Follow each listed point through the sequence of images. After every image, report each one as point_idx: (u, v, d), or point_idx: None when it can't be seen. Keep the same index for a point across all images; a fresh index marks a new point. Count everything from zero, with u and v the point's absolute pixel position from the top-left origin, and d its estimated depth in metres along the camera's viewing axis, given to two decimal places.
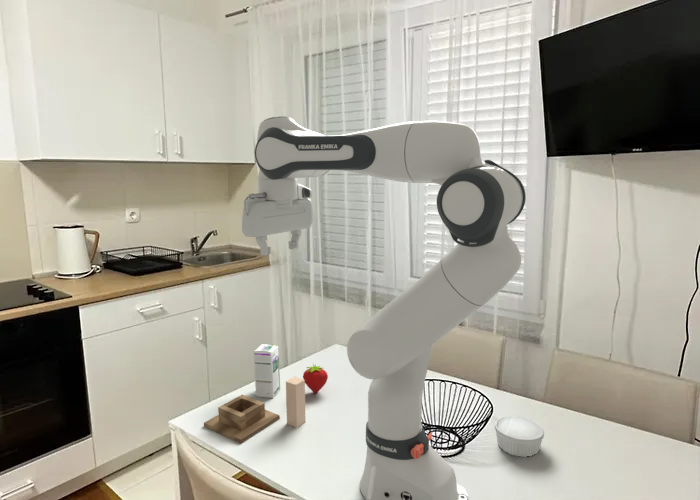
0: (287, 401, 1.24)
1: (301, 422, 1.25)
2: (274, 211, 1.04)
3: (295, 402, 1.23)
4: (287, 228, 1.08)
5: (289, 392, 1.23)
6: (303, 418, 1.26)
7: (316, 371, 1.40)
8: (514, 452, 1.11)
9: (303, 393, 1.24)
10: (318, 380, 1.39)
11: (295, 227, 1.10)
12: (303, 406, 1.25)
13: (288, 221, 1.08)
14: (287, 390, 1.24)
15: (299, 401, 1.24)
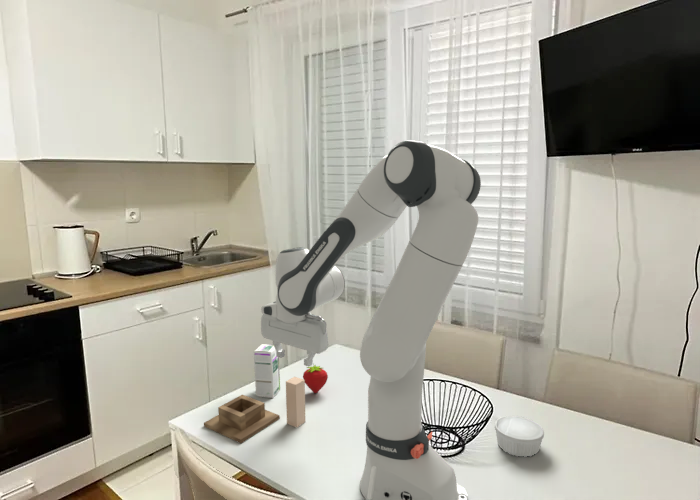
0: (287, 401, 1.24)
1: (301, 422, 1.25)
2: None
3: (295, 402, 1.23)
4: None
5: (289, 392, 1.23)
6: (303, 418, 1.26)
7: (316, 371, 1.40)
8: (514, 452, 1.11)
9: (303, 393, 1.24)
10: (318, 380, 1.39)
11: None
12: (303, 406, 1.25)
13: None
14: (287, 390, 1.24)
15: (299, 401, 1.24)
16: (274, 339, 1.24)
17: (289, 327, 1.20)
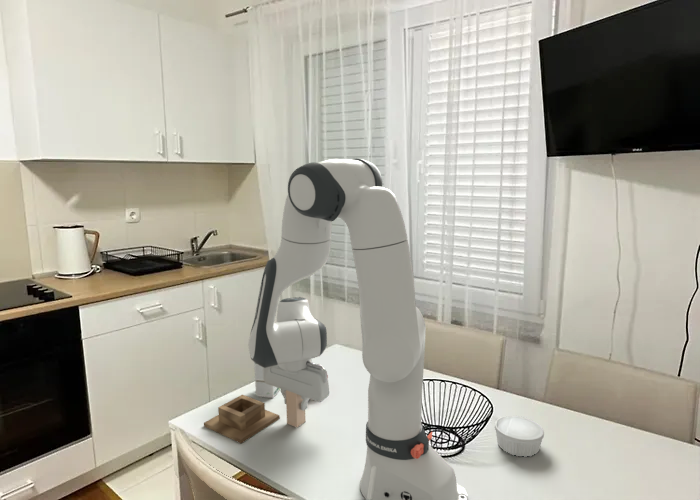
0: (287, 401, 1.24)
1: (301, 422, 1.25)
2: None
3: (295, 402, 1.23)
4: None
5: (289, 392, 1.23)
6: (303, 418, 1.26)
7: None
8: (514, 452, 1.11)
9: None
10: None
11: None
12: None
13: None
14: None
15: (299, 401, 1.24)
16: (276, 385, 1.26)
17: (290, 374, 1.22)
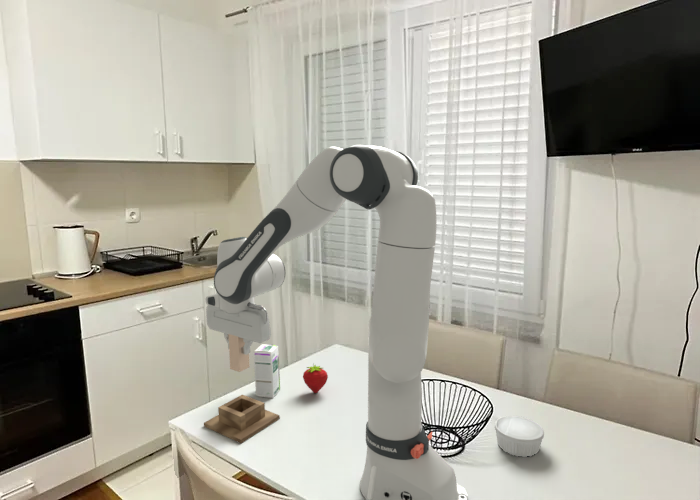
0: (229, 345, 1.22)
1: (244, 367, 1.22)
2: None
3: (237, 345, 1.20)
4: None
5: (232, 335, 1.21)
6: (247, 363, 1.23)
7: (316, 371, 1.40)
8: (514, 452, 1.11)
9: None
10: (318, 380, 1.39)
11: None
12: None
13: None
14: (229, 334, 1.21)
15: (242, 345, 1.21)
16: (219, 330, 1.23)
17: (232, 317, 1.20)
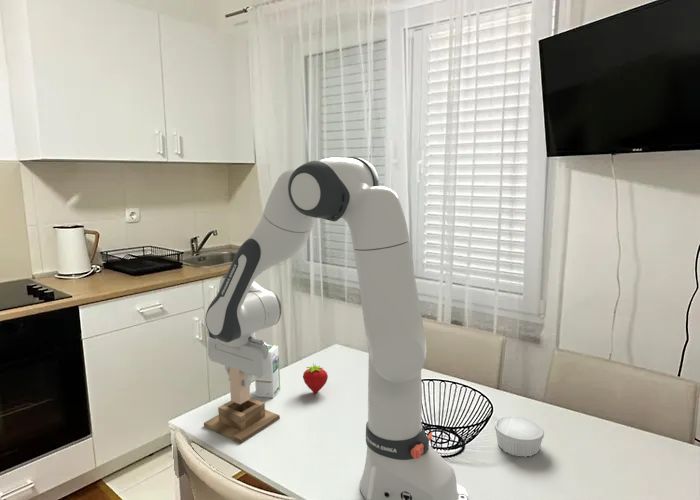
0: (230, 377, 1.23)
1: (245, 399, 1.24)
2: None
3: (238, 378, 1.21)
4: None
5: (233, 368, 1.22)
6: (247, 395, 1.24)
7: (316, 371, 1.40)
8: (514, 452, 1.11)
9: None
10: (318, 380, 1.39)
11: None
12: None
13: None
14: (230, 367, 1.22)
15: (243, 377, 1.22)
16: (220, 362, 1.25)
17: (233, 350, 1.21)
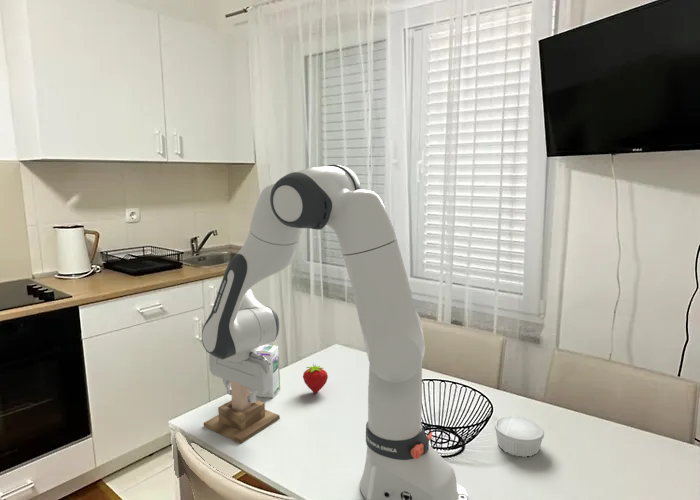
0: (232, 397, 1.24)
1: None
2: None
3: (240, 398, 1.22)
4: None
5: (234, 388, 1.23)
6: None
7: (316, 371, 1.40)
8: (514, 452, 1.11)
9: (248, 389, 1.24)
10: (318, 380, 1.39)
11: None
12: (249, 402, 1.25)
13: None
14: (232, 387, 1.23)
15: (244, 397, 1.23)
16: (221, 376, 1.25)
17: (235, 365, 1.22)
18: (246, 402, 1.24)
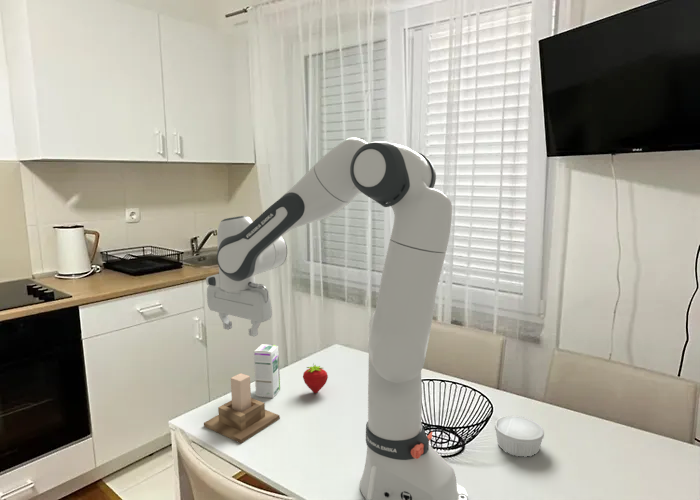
0: (232, 397, 1.24)
1: None
2: None
3: (240, 398, 1.22)
4: None
5: (234, 388, 1.23)
6: None
7: (316, 371, 1.40)
8: (514, 452, 1.11)
9: (248, 389, 1.24)
10: (318, 380, 1.39)
11: None
12: (249, 402, 1.25)
13: None
14: (232, 387, 1.23)
15: (244, 397, 1.23)
16: (220, 311, 1.22)
17: (233, 297, 1.19)
18: (246, 402, 1.24)
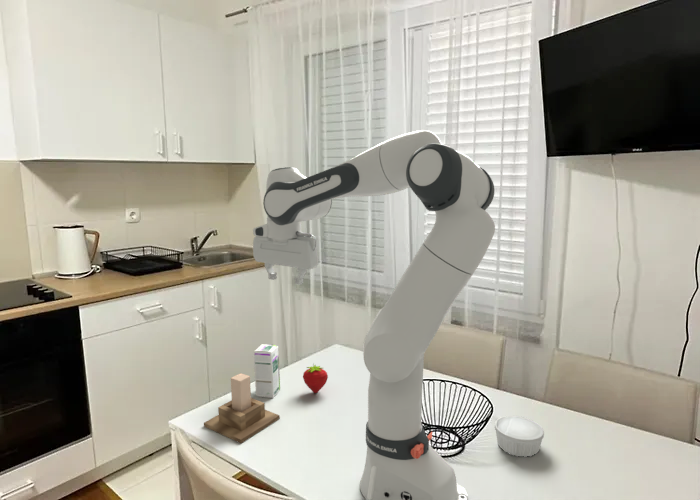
0: (232, 397, 1.24)
1: None
2: None
3: (240, 398, 1.22)
4: None
5: (234, 388, 1.23)
6: None
7: (316, 371, 1.40)
8: (514, 452, 1.11)
9: (248, 389, 1.24)
10: (318, 380, 1.39)
11: None
12: (249, 402, 1.25)
13: None
14: (232, 387, 1.23)
15: (244, 397, 1.23)
16: (266, 261, 1.27)
17: (280, 247, 1.23)
18: (246, 402, 1.24)
